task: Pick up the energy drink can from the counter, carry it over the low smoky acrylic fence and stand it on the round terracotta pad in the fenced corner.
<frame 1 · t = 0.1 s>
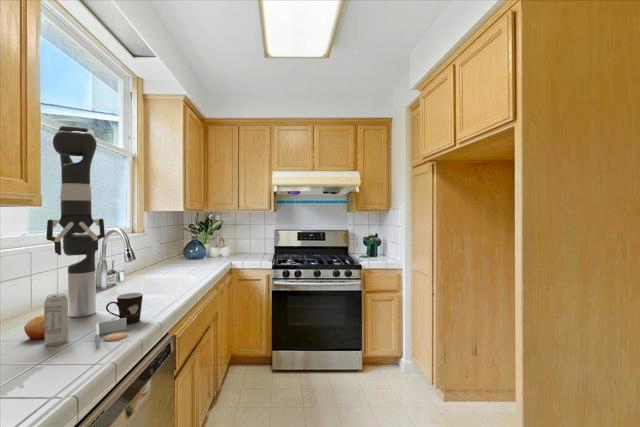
hand: (77, 253, 106), 29 cm above the countertop, tool pointing down, fingers open, 8 cm apart
acrylic fence: (97, 340, 114), on the countertop
energy drink can: (56, 343, 113), on the countertop
fruit: (40, 338, 118), on the countertop
coffee mug: (125, 322, 133), on the countertop
pad: (115, 337, 117), on the countertop
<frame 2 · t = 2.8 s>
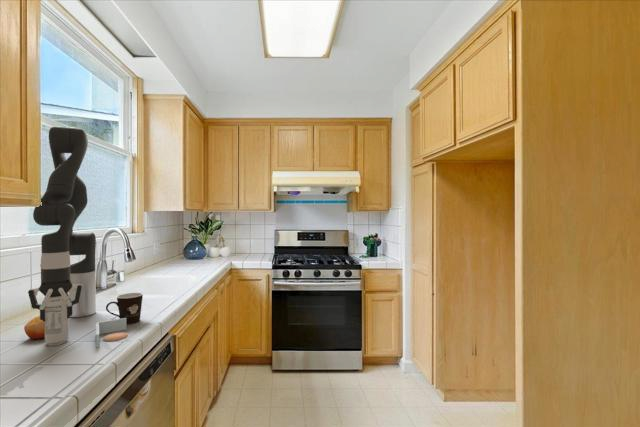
hand: (56, 319, 113), 8 cm above the countertop, tool pointing down, fingers closed on energy drink can, 5 cm apart
energy drink can: (56, 343, 113), on the countertop, touching gripper
everything else where it was.
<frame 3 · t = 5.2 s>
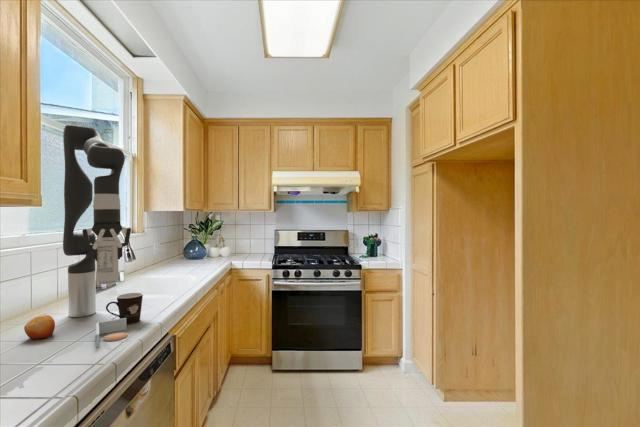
hand: (107, 259, 116), 26 cm above the countertop, tool pointing down, fingers closed on energy drink can, 5 cm apart
energy drink can: (107, 283, 116), point 18 cm above the countertop, touching gripper
everything else where it was.
when the fingers open (9 cm above the countertop, at t = 7.7 s): energy drink can drops 1 cm, resting on pad.
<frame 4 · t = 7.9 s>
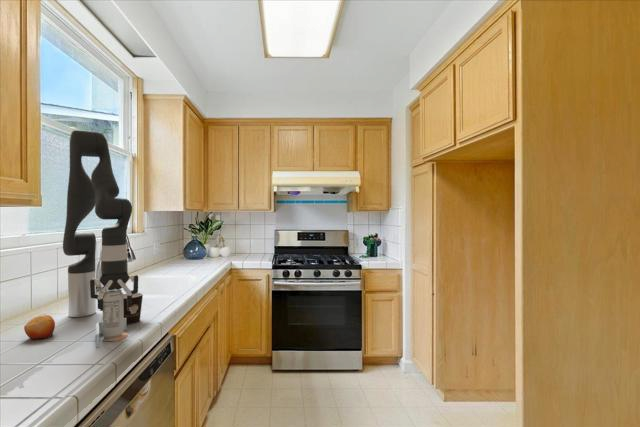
hand: (115, 308, 117), 10 cm above the countertop, tool pointing down, fingers open, 7 cm apart
energy drink can: (113, 336, 117), resting on pad, touching gripper
everything else where it was.
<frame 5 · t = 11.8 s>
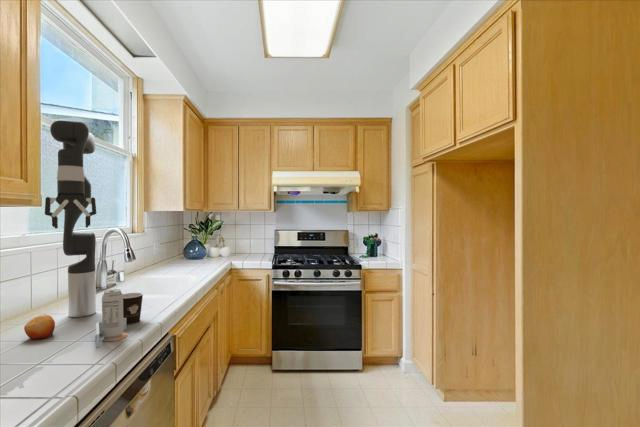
hand: (71, 227, 120), 36 cm above the countertop, tool pointing down, fingers open, 8 cm apart
energy drink can: (113, 336, 117), resting on pad
everything else where it was.
at the end: energy drink can 0.7 cm from the pad (horizontally); energy drink can tilted 0°; the gripper is holding nothing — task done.
